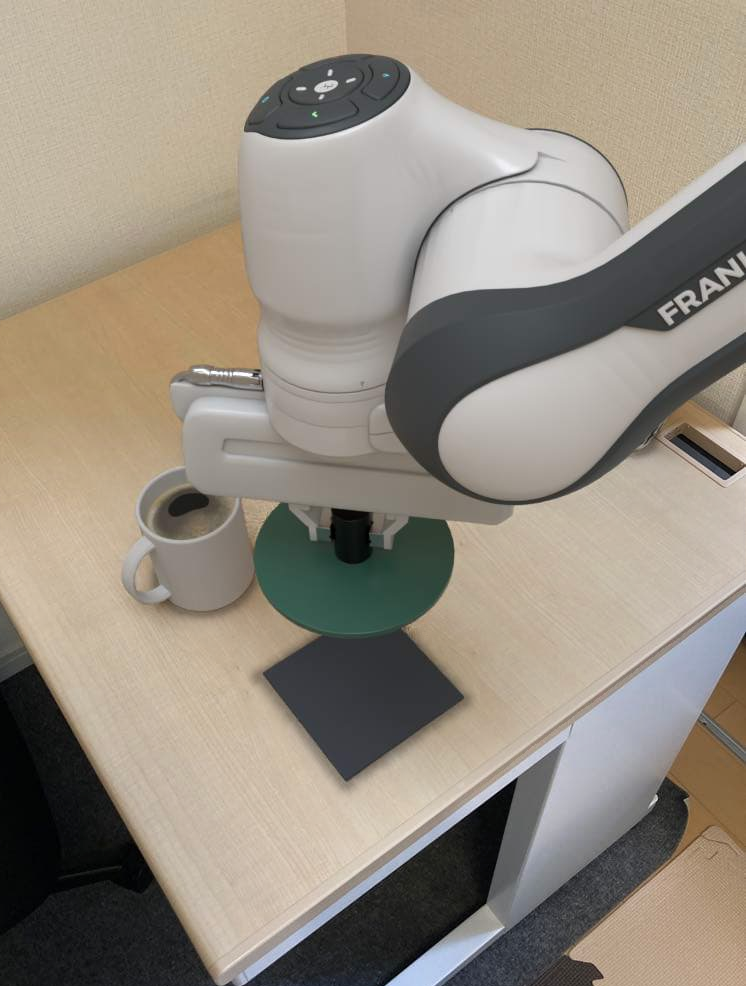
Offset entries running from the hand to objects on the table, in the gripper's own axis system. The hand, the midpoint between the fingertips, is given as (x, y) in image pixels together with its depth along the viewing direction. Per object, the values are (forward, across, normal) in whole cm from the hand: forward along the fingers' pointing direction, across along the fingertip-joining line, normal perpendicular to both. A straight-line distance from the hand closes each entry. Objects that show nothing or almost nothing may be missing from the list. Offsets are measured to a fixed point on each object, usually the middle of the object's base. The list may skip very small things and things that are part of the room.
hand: (353, 537), depth 60 cm
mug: (+20, -17, +9) cm, 28 cm away
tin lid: (+2, 0, 0) cm, 2 cm away
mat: (+20, 0, 0) cm, 20 cm away
